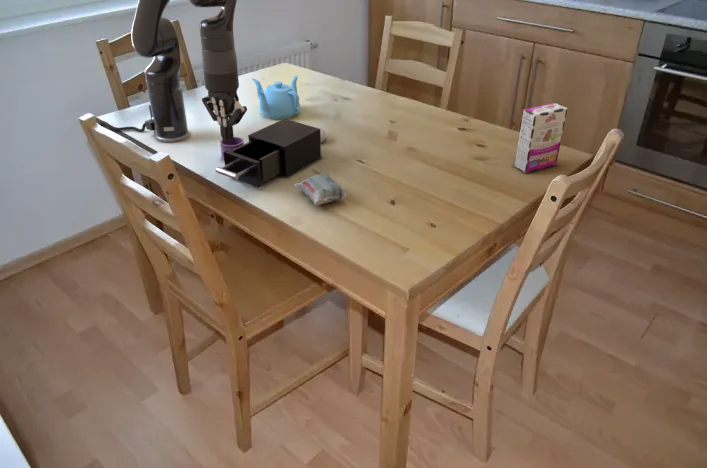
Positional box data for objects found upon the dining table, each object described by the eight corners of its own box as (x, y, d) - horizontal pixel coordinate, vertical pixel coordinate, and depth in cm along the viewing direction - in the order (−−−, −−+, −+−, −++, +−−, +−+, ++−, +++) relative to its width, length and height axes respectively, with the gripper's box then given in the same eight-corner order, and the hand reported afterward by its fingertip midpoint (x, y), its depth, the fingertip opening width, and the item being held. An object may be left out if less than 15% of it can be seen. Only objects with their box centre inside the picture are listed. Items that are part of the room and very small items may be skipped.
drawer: (243, 196, 141) (241, 171, 137) (210, 183, 146) (207, 158, 142) (294, 168, 154) (292, 144, 150) (261, 157, 159) (259, 134, 155)
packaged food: (314, 213, 136) (314, 194, 134) (294, 191, 145) (293, 173, 142) (347, 204, 140) (348, 186, 137) (325, 184, 149) (325, 166, 146)
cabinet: (286, 177, 151) (284, 146, 147) (250, 164, 157) (248, 135, 153) (321, 158, 161) (320, 128, 157) (286, 146, 167) (284, 118, 163)
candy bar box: (543, 158, 163) (555, 101, 154) (556, 165, 159) (569, 108, 151) (512, 166, 159) (522, 108, 150) (525, 173, 155) (536, 114, 146)
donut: (288, 145, 168) (321, 148, 167) (287, 134, 167) (321, 137, 165) (297, 132, 177) (329, 134, 175) (297, 121, 175) (329, 124, 173)
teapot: (305, 120, 184) (304, 88, 179) (257, 123, 182) (254, 91, 176) (299, 104, 197) (298, 74, 191) (254, 107, 194) (251, 76, 188)
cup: (217, 159, 160) (215, 142, 157) (233, 151, 164) (231, 134, 162) (233, 165, 157) (231, 147, 154) (249, 157, 161) (248, 140, 159)
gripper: (253, 69, 130) (258, 141, 139) (212, 58, 136) (219, 128, 145) (229, 77, 124) (236, 152, 134) (187, 65, 131) (196, 137, 140)
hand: (227, 139), depth 140 cm, fingers closed
